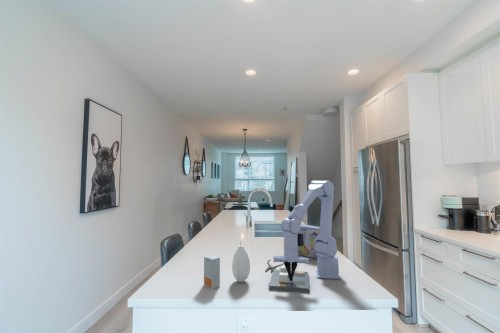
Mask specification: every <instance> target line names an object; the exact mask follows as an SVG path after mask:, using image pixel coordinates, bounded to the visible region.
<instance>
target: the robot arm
mask: <svg viewBox="0 0 500 333" xmlns="http://www.w3.org/2000/svg"><path fill="white" fill-rule="evenodd" d="M307 187H308V190H307V192H306V194H305V195H304V196H303V199H302V201H301V202H300V204H296V205H294V206H293V209H292V210H291V212H290V213H289V215H288V216H287V217H285V218H284V219H283V220H282V221H281V224H280V229H281V230H282V234H283V255H280V256H279V255H277V256H276V255H274V256H273V263H284V262H285V264H284V265H283V266H285V268H286V270H287V272H288V275H289V281H293V275H294V272H295V271H297V267H298V264H306V265H309V262H310V261H309V260H310V259H309V257H302V256H298V255H299V254H298V239H297V232H298V231H299V230H300V228H301V224H302V221H303V220H304V218H305V217H306V215H307V214H308V208H309V206H310V205H311V204H312V203H313V202H314V200H315V199H316V198H319V200H320V201H321V204H320V205H321V208H320V221H319V227H320V233H319V235H318V236H316V237H315V242H314V245H313V249H314V251H315V252H316V255H317V259H316V260H317V261H316V262H317V263H316V271H315V273H316V278H317V279H319V278H320V279H329V280H331V279H333V280H339V279H340V275H339V273H340V269H339V268H340V267H339V257H338V256H336V255H337V253H338V247H337V240H336V239H335V238H334V237H333V236H332V231H333V230H332V228H333V212H334V199H335V196H334V195H335V185H334V183H333V182H332V181H331V180H311V182H310V183H309V185H308V186H307Z"/></svg>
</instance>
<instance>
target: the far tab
mask: <svg viewBox="0 0 500 333" xmlns="http://www.w3.org/2000/svg"><path fill="white" fill-rule="evenodd" d="M279 267H280V268H279V270H280V272H282V273H288V272H287V270H286V268H285V265H281V266H279Z"/></svg>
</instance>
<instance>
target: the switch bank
mask: <svg viewBox="0 0 500 333" xmlns="http://www.w3.org/2000/svg"><path fill="white" fill-rule="evenodd" d="M279 274H280V269H275V270H273V272H272V273H271V277H270V280H269V283H268V290H270V291H271V290H272V291H285V292H286V291H287V292H299V293H310V282H309V272H308V271H297V270H295V272H294V275H293V281H289V275H288V283H284V282H279Z"/></svg>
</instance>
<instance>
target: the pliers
mask: <svg viewBox="0 0 500 333" xmlns="http://www.w3.org/2000/svg"><path fill="white" fill-rule="evenodd" d="M270 261H271V259H269V260H268V261H267V262H266V263H267V265H268V267H267V268H265V271H264V272H265V273H267V272H268V271H269V270H270V274H273V270H276V268H278V267H281V266H284V265H283V264H285V262H282V263H281V264H277V265H274V266H272V265H271V264H270Z"/></svg>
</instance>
